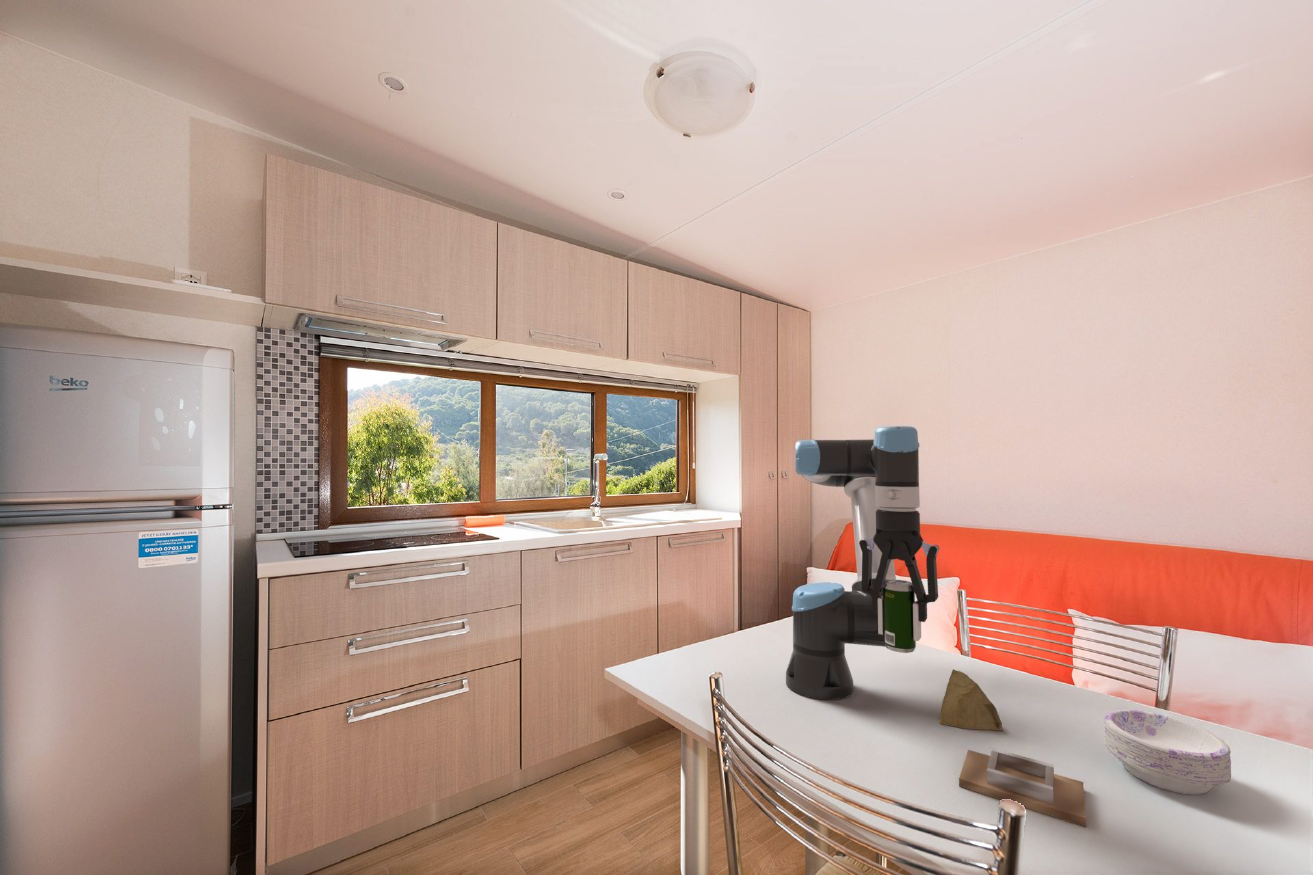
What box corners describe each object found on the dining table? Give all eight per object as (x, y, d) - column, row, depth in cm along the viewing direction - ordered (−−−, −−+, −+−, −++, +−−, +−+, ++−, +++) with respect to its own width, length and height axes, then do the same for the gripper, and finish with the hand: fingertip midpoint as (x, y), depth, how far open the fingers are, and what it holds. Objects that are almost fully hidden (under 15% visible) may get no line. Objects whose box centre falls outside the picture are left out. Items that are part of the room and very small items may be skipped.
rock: (1012, 713, 107) (959, 690, 114) (1008, 687, 103) (953, 664, 110) (993, 759, 101) (938, 732, 109) (987, 734, 98) (931, 707, 105)
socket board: (959, 786, 86) (958, 765, 86) (968, 756, 95) (967, 737, 95) (1086, 826, 76) (1085, 803, 77) (1083, 789, 85) (1082, 769, 85)
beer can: (905, 655, 95) (903, 587, 95) (877, 646, 99) (876, 581, 100) (922, 649, 98) (920, 583, 98) (894, 641, 102) (893, 578, 103)
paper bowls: (1203, 818, 79) (1201, 762, 79) (1086, 764, 92) (1084, 717, 93) (1252, 792, 85) (1249, 741, 85) (1135, 746, 99) (1133, 702, 99)
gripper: (841, 507, 102) (842, 630, 101) (949, 513, 91) (952, 652, 90) (853, 505, 108) (854, 621, 107) (956, 510, 97) (959, 640, 96)
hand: (899, 635), depth 98 cm, fingers closed on beer can, 5 cm apart
